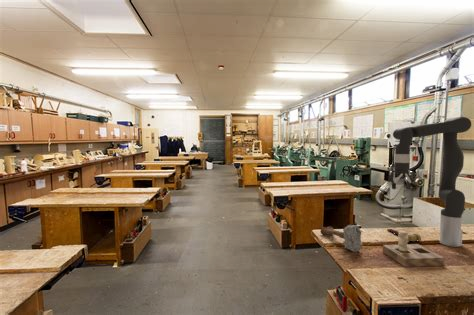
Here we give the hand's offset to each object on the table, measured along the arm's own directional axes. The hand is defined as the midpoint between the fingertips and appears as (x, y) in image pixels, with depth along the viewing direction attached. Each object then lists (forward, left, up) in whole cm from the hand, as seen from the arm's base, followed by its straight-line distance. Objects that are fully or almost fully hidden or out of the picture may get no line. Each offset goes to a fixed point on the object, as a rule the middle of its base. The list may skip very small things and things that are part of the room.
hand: (400, 189), depth 140 cm
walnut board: (+7, +18, -33) cm, 38 cm away
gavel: (-10, -12, -34) cm, 37 cm away
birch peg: (+12, +18, -33) cm, 39 cm away
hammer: (+34, -4, -34) cm, 48 cm away
